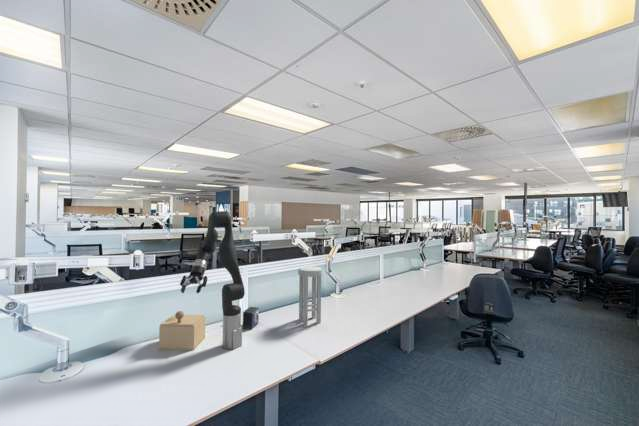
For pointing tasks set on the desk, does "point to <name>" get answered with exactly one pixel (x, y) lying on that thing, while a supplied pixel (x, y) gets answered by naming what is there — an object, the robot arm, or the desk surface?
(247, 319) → the small box
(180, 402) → the desk surface
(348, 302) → the desk surface
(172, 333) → the carton
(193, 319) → the lid flap
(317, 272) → the stool
